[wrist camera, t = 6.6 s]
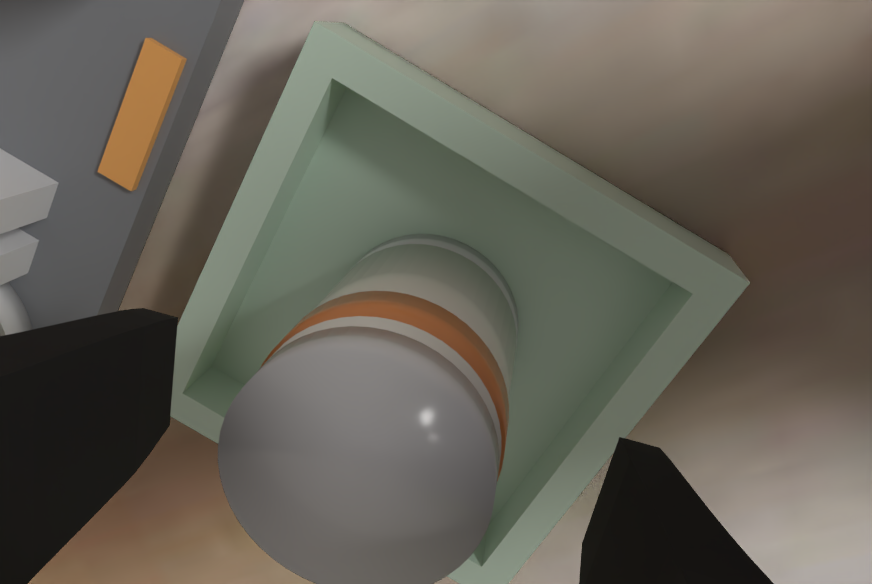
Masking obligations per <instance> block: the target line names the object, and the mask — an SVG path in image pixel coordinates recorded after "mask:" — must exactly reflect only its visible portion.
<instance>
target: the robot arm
mask: <svg viewBox="0 0 872 584" xmlns="http://www.w3.org/2000/svg"><path fill="white" fill-rule="evenodd" d="M177 324H178V318H177V317H174V316H170V315H166V314H162V313H159V312H155V311H151V310H148V309H144V308H141V309H130V310H123V311H117V312H112V313H106V314H101V315H97V316H92V317H87V318H82V319H78V320H73V321H69V322H64V323H60V324H55V325H51V326H46V327H42V328H37V329H33V330H28V331H24V332H19V333H14V334H9V335H4V336H0V584H28V583H29V581H30V580H31V579H32V578H33V577H34V576H35V575H36V574H37V573H38V572H39V571H40V570H41V569H42V568H43V567H44V566H45V565H46V564H47V563H48V562H49V561H50V560H51V559H52V558H53V557H54V556H55V555H56V554H57V553H58V552H59V551H60V549H61V548H62V547H63V546H64V545H65V544H66V543H67V542H68V541H69V540H70V539H71V538H72V537H73V536H74V535H75V534H76V533H77V532H78V531H79V530H80V529H81V528H82V527H83V526H84V525H85V524H86V523H87V522H88V521H89V520H90V519H91V518H92V517H93V516H94V515H95V514H96V513H97V512H98V511H99V510H100V509H101V508H102V507H103V506H104V505H105V504H106V503H107V502H108V501H109V500H110V498H111V497H112V496H113V495H114V494H115V493H116V492H117V491H118V490H119V489H120V488H121V487H122V486H123V485H124V484H125V483H126V482H127V481H128V480H129V479H130V478H131V476H132V475H133V474H134V473H135V472H136V471H137V469H138V468H139V467H140V466H141V464H142V463H143V462H144V460H145V459H146V458H147V456H148V455H149V454H150V452H151V451H152V450H153V448H154V447H155V445H156V444H157V442H158V441H159V440H160V438H161V437H162V435H163V434H164V432H165V431H166V430H167V428H168V427H169V425H170V413H171V400H172V387H173V375H174V362H175V349H176V336H177ZM579 584H773V583H772V581H771V580H770V579H769V578H768V577H767V576H766V575H765V574H764V573H763V572H762V571H761V569H760V568H759V567H758V566H757V565H756V564H755V563H754V562H753V561H752V560H751V559H750V557H749V556H748V555H747V554H746V553H745V552H744V551H743V549H742V548H741V547H740V546H739V545H738V544H737V543H736V541H735V540H734V539H733V538H732V537H731V535H730V534H729V533H728V532H727V531H726V529H725V528H724V527H723V526H722V525H721V523H720V522H719V521H718V520H717V519H716V517H715V516H714V515H713V514H712V512H711V511H710V510H709V509H708V507H707V506H706V505H705V504H704V502H703V501H702V500H701V499H700V497H699V496H698V495H697V493H696V492H695V491H694V490H693V488H692V487H691V486H690V484H689V483H688V482H687V481H686V479H685V478H684V477H683V476H682V474H681V473H680V472H679V470H678V469H677V468H676V467H675V465H674V464H673V463H672V462H671V460H670V459H669V458H668V457H667V456H666V454H665V453H664V452H663V451H662V450H661V449H660V448H658V447H655V446H651V445H647V444H643V443H640V442H636V441H632V440H629V439H625V438H621V437H619V440H618V443H617V446H616V448H615V451H614V454H613V457H612V460H611V463H610V466H609V468H608V471H607V474H606V477H605V480H604V483H603V485H602V488H601V491H600V494H599V497H598V500H597V503H596V505H595V508H594V511H593V514H592V517H591V520H590V522H589V525H588V528H587V531H586V534H585V537H584V540H583V542H582V554H581V567H580V582H579Z"/></svg>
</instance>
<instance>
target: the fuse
mask: <svg viewBox="0 0 872 584" xmlns="http://www.w3.org/2000/svg"><path fill="white" fill-rule="evenodd" d="M28 330H32V326H31V322H30V319H29V316H28V314H27V312H26V309H25V307H24V305H23V303H22V301H21V300H20V298H19V296H18V295H17V293H16V292H15V290H14V289H13V288H12V286H11V285H10V284H9V283H8V282H7V283H5V284H2V285H0V336H4V335H9V334H14V333H19V332H24V331H28Z"/></svg>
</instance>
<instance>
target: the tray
mask: <svg viewBox="0 0 872 584" xmlns="http://www.w3.org/2000/svg"><path fill="white" fill-rule="evenodd" d="M411 234H433V235H440V236H445V237H448V238H452V239H455V240H458V241H460V242H462V243H464V244H467V245H468V246H470V247H472V248H474V249H475V250H477V251H478V252H480V253H481V254H482V255H484V256H485V257H486V258H487V259H488V260H489V261H490V262H491V263H492V264H493V265H494V266H495V267H496V268H497V269H498V270H499V271H500V273H501V274H502V275H503V277H504V278H505V280H506V282H507V283H508V285H509V287H510V289H511V291H512V294H513V296H514V299H515V303H516V307H517V311H518V319H519V331H518V339H517V346H516V353H515V360H514V367H513V374H512V381H511V388H510V395H509V423H508V431H507V438H506V446H505V453H504V459H503V465H502V469H501V472H500V475H499V478H498V481H497V485H496V492H495V499H494V505H493V511H492V516H491V519H490V522H489V525H488V528H487V531H486V533H485V534H484V536H483V538H482V540H481V542H480V544H479V545H478V547H477V548H476V549H475V551H474V552H473V553H472V555H471V556H470V557H469V558H468V559H467V560H466V561H465V562H464V563H463V564H462V565H461V566H460V567H459V568H457V569H456V570H455V571H453V572H452V573H450V574H449V575H448V576H447V577H449V578H451V579H452V580H454V581H456V582H458V583H459V584H508V583H509V582H510V581H511V580H512V578H513V577H514V576H515V575H516V573H517V572H518V571H519V570H520V568H521V567H522V566H523V565H524V563H525V562H526V561H527V560H528V558H529V557H530V556H531V555H532V553H533V552H534V551H535V550H536V548H537V547H538V546H539V545H540V543H541V542H542V541H543V540H544V539H545V537H546V536H547V535H548V534H549V532H550V531H551V530H552V529H553V527H554V526H555V525H556V524H557V522H558V521H559V520H560V519H561V517H562V516H563V515H564V514H565V512H566V511H567V510H568V509H569V507H570V506H571V505H572V504H573V502H574V501H575V500H576V499H577V498H578V496H579V495H580V494H581V493H582V491H583V490H584V489H585V488H586V486H587V485H588V484H589V483H590V481H591V480H592V479H593V478H594V476H595V475H596V474H597V473H598V471H599V470H600V469H601V468H602V466H603V465H604V464H605V463H606V461H607V460H608V459H609V458H610V457H611V455H612V454H613V453H614V451H615V448H616V446H617V443H618V440H619V437H621V438H626V437H627V435H628V434H629V433H630V432H631V430H632V429H633V428H634V427H635V425H636V424H637V423H638V422H639V421H640V419H641V418H642V417H643V416H644V414H645V413H646V412H647V411H648V409H649V408H650V407H651V406H652V404H653V403H654V402H655V401H656V399H657V398H658V397H659V396H660V394H661V393H662V392H663V391H664V389H665V388H666V387H667V386H668V384H669V383H670V382H671V381H672V380H673V378H674V377H675V376H676V375H677V373H678V372H679V371H680V370H681V368H682V367H683V366H684V365H685V363H686V362H687V361H688V360H689V358H690V357H691V356H692V355H693V353H694V352H695V351H696V350H697V348H698V347H699V346H700V345H701V343H702V342H703V341H704V340H705V339H706V337H707V336H708V335H709V334H710V332H711V331H712V330H713V329H714V327H715V326H716V325H717V324H718V322H719V321H720V320H721V319H722V317H723V316H724V315H725V314H726V312H727V311H728V310H729V309H730V307H731V306H732V305H733V304H734V302H735V301H736V300H737V299H738V298H739V296H740V295H741V294H742V293H743V291H744V290H745V289H746V288H747V286H748V285H749V284H750V282H749V281H748V279H747V278H746V277H745V275H744V274H743V273H742V271H741V270H740V269H739V267H738V266H737V265H736V263H735V262H734V261H733V259H732V258H731V257H730V255H729V254H727V253H726V252H724V251H722V250H721V249H719V248H717V247H716V246H714V245H712V244H711V243H709V242H707V241H706V240H704V239H702V238H701V237H699V236H697V235H696V234H694V233H692V232H691V231H689V230H687V229H686V228H684V227H682V226H681V225H679V224H677V223H676V222H674V221H672V220H671V219H669V218H667V217H666V216H664V215H662V214H661V213H659V212H657V211H656V210H654V209H652V208H651V207H649V206H647V205H646V204H644V203H642V202H641V201H639V200H637V199H636V198H634V197H632V196H631V195H629V194H627V193H626V192H624V191H622V190H621V189H619V188H617V187H616V186H614V185H612V184H611V183H609V182H608V181H606V180H604V179H603V178H601V177H599V176H598V175H596V174H594V173H593V172H591V171H589V170H588V169H586V168H584V167H583V166H581V165H579V164H578V163H576V162H574V161H573V160H571V159H569V158H568V157H566V156H564V155H563V154H561V153H559V152H558V151H556V150H554V149H553V148H551V147H549V146H548V145H546V144H544V143H543V142H541V141H539V140H538V139H536V138H534V137H533V136H531V135H529V134H528V133H526V132H524V131H523V130H521V129H519V128H518V127H516V126H514V125H513V124H511V123H509V122H508V121H506V120H504V119H503V118H501V117H499V116H498V115H496V114H494V113H493V112H491V111H489V110H488V109H486V108H485V107H483V106H481V105H480V104H478V103H476V102H475V101H473V100H471V99H470V98H468V97H466V96H465V95H463V94H461V93H460V92H458V91H456V90H455V89H453V88H451V87H450V86H448V85H446V84H445V83H443V82H441V81H440V80H438V79H436V78H435V77H433V76H431V75H430V74H428V73H426V72H425V71H423V70H421V69H420V68H418V67H416V66H415V65H413V64H411V63H410V62H408V61H406V60H405V59H403V58H401V57H400V56H398V55H396V54H395V53H393V52H391V51H390V50H388V49H386V48H385V47H383V46H381V45H380V44H378V43H376V42H375V41H373V40H371V39H370V38H368V37H366V36H365V35H363V34H361V33H360V32H358V31H357V30H355V29H353V28H352V27H350V26H348V25H347V24H345V23H338V22H321V21H314V24H313V26H312V28H311V30H310V33H309V35H308V37H307V39H306V41H305V44H304V46H303V48H302V50H301V53H300V55H299V57H298V59H297V61H296V64H295V66H294V68H293V70H292V73H291V75H290V77H289V79H288V81H287V84H286V86H285V88H284V90H283V93H282V95H281V97H280V99H279V101H278V104H277V106H276V108H275V110H274V113H273V115H272V117H271V119H270V121H269V124H268V126H267V128H266V130H265V133H264V135H263V137H262V139H261V141H260V144H259V146H258V148H257V150H256V152H255V155H254V157H253V159H252V161H251V164H250V166H249V168H248V170H247V172H246V175H245V177H244V179H243V181H242V184H241V186H240V188H239V190H238V192H237V195H236V197H235V199H234V201H233V204H232V206H231V208H230V210H229V212H228V215H227V217H226V219H225V221H224V224H223V226H222V228H221V230H220V232H219V235H218V237H217V239H216V241H215V244H214V246H213V248H212V250H211V252H210V255H209V257H208V259H207V261H206V264H205V266H204V268H203V270H202V272H201V275H200V277H199V279H198V281H197V284H196V286H195V288H194V290H193V292H192V295H191V297H190V299H189V301H188V304H187V306H186V308H185V310H184V312H183V315H182V317H181V319H180V321H179V323H178V326H177V336H176V349H175V362H174V375H173V387H172V400H171V413H170V416H171V417H172V418H174V419H176V420H178V421H179V422H181V423H183V424H185V425H186V426H188V427H190V428H191V429H193V430H195V431H197V432H198V433H200V434H202V435H204V436H205V437H207V438H209V439H210V440H212V441H214V442H216V443H217V444H218V442H219V436H220V430H221V427H222V424H223V421H224V418H225V415H226V413H227V411H228V409H229V407H230V405H231V403H232V401H233V400H234V398H235V397H236V396H237V394H238V393H239V392H240V390H241V389H242V388H243V387H244V386H245V384H246V383H247V382H248V381H249V380H250V379H251V378H252V377H253V376H254V375H255V373H256V372H257V371H258V370H259V369H260V367H261V365H262V363H263V362H264V361H265V359H266V358H267V357H268V355H269V354H270V352H271V351H272V350H273V349H274V348H275V347H276V346H277V345H278V344H279V342H280V341H281V340H282V339H283V338H284V337H285V336H286V335H287V334H288V333H289V332H290V331H291V329H292V328H293V327H294V326H295V325H296V324H297V323H298V322H299V321H300V320H301V319H302V318H303V317H304V316H306V315H307V314H308V313H310V312H311V311H312V310H314V309H315V308H316V307H317V306H318V304H319V303H320V302H321V301H322V300H323V299H324V298H325V297H326V296H327V295H328V293H329V292H330V291H331V290H332V289H333V288H334V287H335V286H336V285H337V284H338V283H339V281H340V280H341V279H342V278H343V277H344V276H345V275H346V274H347V273H348V272H349V270H350V269H351V268H352V267H353V266H354V265H355V264H356V263H357V262H358V261H359V260H360V259H361V258H362V257H363V256H364V255H365V254H366V253H367V252H369V251H370V250H371V249H373V248H374V247H376V246H378V245H379V244H381V243H383V242H385V241H388V240H390V239H393V238H396V237H400V236H404V235H411Z"/></svg>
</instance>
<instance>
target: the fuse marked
mask: <svg viewBox="0 0 872 584" xmlns="http://www.w3.org/2000/svg"><path fill="white" fill-rule="evenodd" d="M518 331H519V319H518V311H517V307H516V303H515V299H514V296H513V294H512V291H511V289H510V287H509V285H508V283H507V282H506V280H505V278H504V277H503V275H502V274H501V273H500V271H499V270H498V269H497V268H496V267H495V266H494V265H493V264H492V263H491V262H490V261H489V260H488V259H487V258H486V257H485V256H484V255H482V254H481V253H480V252H478V251H477V250H475V249H474V248H472V247H470V246H468V245H467V244H464V243H462V242H460V241H458V240H455V239H452V238H448V237H445V236H440V235H433V234H411V235H404V236H400V237H396V238H393V239H390V240H388V241H385V242H383V243H381V244H379V245H378V246H376V247H374V248H373V249H371V250H370V251H369V252H367V253H366V254H365V255H364V256H363V257H362V258H361V259H360V260H359V261H358V262H357V263H356V264H355V265H354V266H353V267H352V268H351V269H350V270H349V272H348V273H347V274H346V275H345V276H344V277H343V278H342V279H341V280H340V281H339V283H338V284H337V285H336V286H335V287H334V288H333V289H332V290H331V291H330V292H329V293H328V295H327V296H326V297H325V298H324V299H323V300H322V301H321V302H320V303H319V304H318V306H317V307H316V308H315V309H314V310H312V311H311V312H310V313H308V314H307V315H306V316H304V317H303V318H302V319H301V320H300V321H299V322H298V323H297V324H296V325H295V326H294V327H293V328H292V329H291V331H290V332H289V333H288V334H287V335H286V336H285V337H284V338H283V339H282V340H281V341H280V342H279V344H278V345H277V346H276V347H275V348H274V349H273V350H272V351H271V352H270V354H269V355H268V357H267V358H266V359H265V361H264V362H263V363H262V365H261V367H260V369H259V370H258V371H257V372H256V373H255V375H254V376H253V377H252V378H251V379H250V380H249V381H248V382H247V383H246V384H245V386H244V387H243V388H242V389H241V390H240V392H239V393H238V394H237V396H236V397H235V398H234V400H233V401H232V403H231V405H230V407H229V409H228V411H227V413H226V415H225V418H224V421H223V424H222V427H221V430H220V436H219V442H218V465H219V473H220V478H221V482H222V486H223V489H224V493H225V495H226V497H227V500H228V502H229V505H230V507H231V509H232V511H233V512H234V514H235V516H236V518H237V519H238V521H239V523H240V524H241V525H242V527H243V528H244V529H245V531H246V532H247V533H248V535H249V536H250V537H251V538H252V539H253V540H254V541H255V542H256V544H257V545H258V546H259V547H260V548H261V549H262V550H264V551H265V552H266V553H267V554H268V555H269V556H270V557H271V558H273V559H274V560H275V561H277V562H278V563H280V564H281V565H282V566H284V567H285V568H287V569H288V570H290V571H292V572H294V573H295V574H297V575H299V576H301V577H302V578H305V579H307V580H309V581H311V582H314V583H316V584H433V583H435V582H437V581H439V580H441V579H443V578H444V577H446V576H448V575H449V574H450V573H452V572H453V571H455V570H456V569H457V568H459V567H460V566H461V565H462V564H463V563H464V562H465V561H466V560H467V559H468V558H469V557H470V556H471V555H472V553H473V552H474V551H475V549H476V548H477V547H478V545H479V544H480V542H481V540H482V538H483V536H484V534H485V533H486V531H487V528H488V525H489V522H490V519H491V516H492V511H493V505H494V499H495V492H496V485H497V481H498V478H499V475H500V472H501V469H502V465H503V459H504V453H505V446H506V438H507V431H508V423H509V395H510V388H511V381H512V374H513V367H514V360H515V353H516V346H517V339H518Z"/></svg>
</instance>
